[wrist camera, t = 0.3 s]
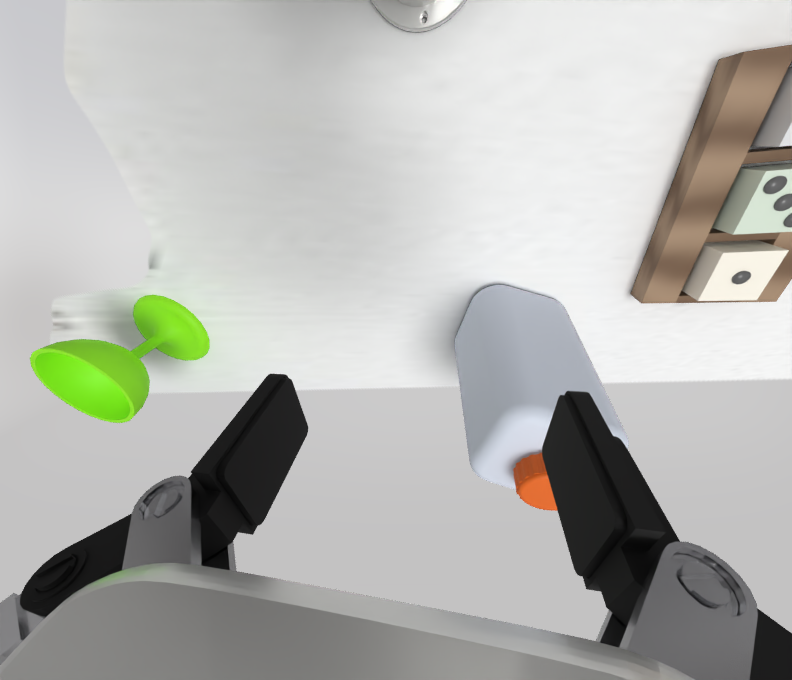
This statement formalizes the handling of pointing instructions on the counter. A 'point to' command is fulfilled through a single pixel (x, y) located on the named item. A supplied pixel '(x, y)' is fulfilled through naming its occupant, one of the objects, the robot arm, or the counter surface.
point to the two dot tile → (778, 117)
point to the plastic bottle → (520, 385)
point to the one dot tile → (733, 270)
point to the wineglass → (119, 361)
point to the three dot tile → (758, 201)
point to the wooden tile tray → (717, 177)
